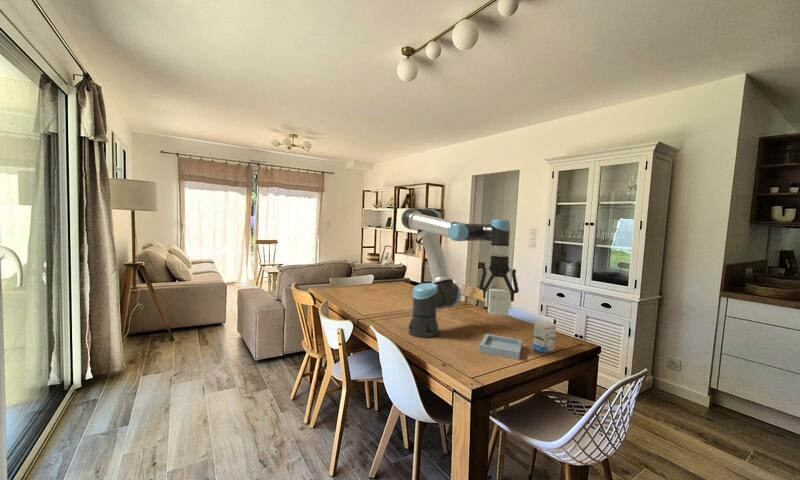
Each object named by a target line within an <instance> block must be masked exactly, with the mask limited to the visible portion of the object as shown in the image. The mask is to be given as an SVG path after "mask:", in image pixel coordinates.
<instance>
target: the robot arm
mask: <svg viewBox="0 0 800 480" xmlns="http://www.w3.org/2000/svg"><path fill="white" fill-rule="evenodd" d="M400 220H401V224H402V226H403V227H405V228H406V229H408V230H412V231H417V235H418V237H420V238H421V240H422V244H423V247H424V252H425V256H426V259H427V263H428V268H429V271H430V275H431V282H427V283H425V282H423V283H419V284H417V285H415V286H414V288H413V293H412V312H411V313H412V316H411V319H410V322H409V323H408V327H407V333H408V334H409V335H411V336H413V337H416V338H417V337H418V338H424V339H425V338H434V337H437V336H439V335H440V327H439V322H438V319H437V310H441V309H442V310H443V309H447V308H448V309H449V308H453V307H456V306H458V304H459V302H460V300H461V298H462V292H461V289H460V287H459V285H458V284H456V283H455V282H454V279H453V278H452V277H450V276H449V273H448V268H447V265H446V261H445V258H444V254H443V251H442V250H443V249H442V246H441V242H440V239H439V236H443V237H445V238H450V239H451V241H454V242H455V241H456V242H469V241H470V242H471V241H472V242H473V241H475V242H477V241H478V242H479V241H480V242H482V241H483V242H490V266H488V267H487V266H484V267H483V268H482V276H481V279H480V283H479V288H478V289H479V290H481V291H483V293H482V298H483V299H484V301H485V302H484V306H485V307H487V308H488V289H489V288H490V286H491V283H492V281H493V280H494V278H503V280H504V282H505V284H506V286H507V289H508V291H509V302H508V310H511V309H512V302H514V300H515V294H518V293H519V291H520V289H519V285H518V280H517V276H516V275H517V274H516V273H517V270H516V268H514V269H512V268H510V267H509V266H510V265H509V264H510V263H509V262H510V261H509V259H510V257H509V255H510V233H511V227H510V226H511V225H510V224H511V223H510V220H508V219H492V220H491V223H490V224H489V223H464V222H458V221H454V220H453V221H452V220H450V219H445V218H441V214H440V213H439V212H438V210H435V209H433V208H428V207H427V208H425V207H424V208H421V207H420V208H419V207H409V208H406V209H405V210H404V211H403V212H402V215H401V218H400ZM489 271H490V273H491V275H490V277H489V278H488V280H487V282H486V277H487V273H488V272H489ZM509 272H510V275H511V278H512V282H513V285H512V284H511V281H510V279H509V277H508V275H507V274H508V273H509ZM485 282H486V284H485ZM484 284H485V285H484Z"/></svg>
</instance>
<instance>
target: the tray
mask: <svg viewBox="0 0 800 480" xmlns="http://www.w3.org/2000/svg"><path fill="white" fill-rule="evenodd" d="M483 336H484V337H483V338H482V340H481V342H480V343H479V346H478V347H479V348H478V349H479V350H478V352H479V353H482V354H487V355H491V356H492V355H493V356H498V357H503V358H507V359H514V360H518V361H519V360H520V357H521V353H522V347H523V340H522V339H517V338H514V337H513V338H511V337H506V336H501V335H495V334H491V333H490V334H489V333H485V334H484V335H483Z"/></svg>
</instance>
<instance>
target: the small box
mask: <svg viewBox="0 0 800 480" xmlns="http://www.w3.org/2000/svg"><path fill="white" fill-rule="evenodd" d="M487 291H488V306H487V312H488V314H489V315H492V316H493V315H496V316H509V309H508V307H509V293H510V290H509V289H508V288H495V287H494V288H493V287H488V289H487Z"/></svg>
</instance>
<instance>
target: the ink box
mask: <svg viewBox="0 0 800 480" xmlns="http://www.w3.org/2000/svg"><path fill="white" fill-rule="evenodd" d="M533 327H534V329H533V343H532V344H533V346H532V350H534V351H536V352H539V353H541V354H545V353H548V352H553V351H554V352H555V346H556V333H557V324H556V323H553V322H550V321H541V322H535V323H534V326H533Z"/></svg>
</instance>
